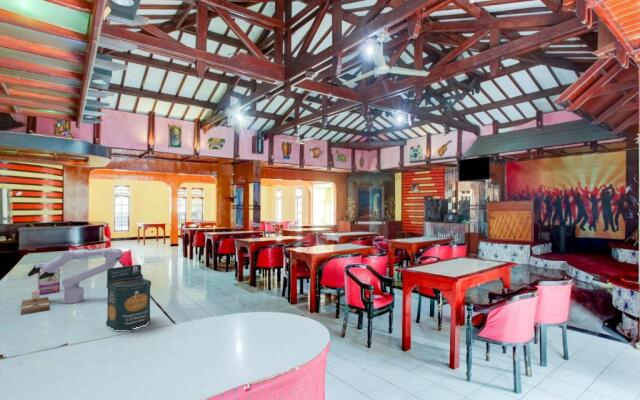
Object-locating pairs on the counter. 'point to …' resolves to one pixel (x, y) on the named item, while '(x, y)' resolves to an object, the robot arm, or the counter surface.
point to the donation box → (127, 298)
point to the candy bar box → (49, 283)
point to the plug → (35, 295)
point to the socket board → (35, 305)
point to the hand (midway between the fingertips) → (34, 276)
